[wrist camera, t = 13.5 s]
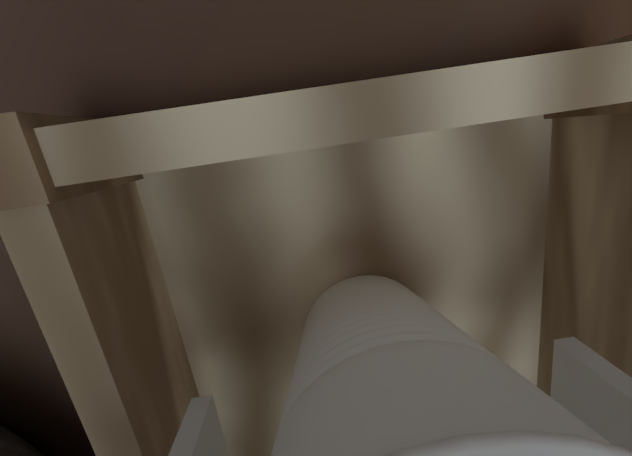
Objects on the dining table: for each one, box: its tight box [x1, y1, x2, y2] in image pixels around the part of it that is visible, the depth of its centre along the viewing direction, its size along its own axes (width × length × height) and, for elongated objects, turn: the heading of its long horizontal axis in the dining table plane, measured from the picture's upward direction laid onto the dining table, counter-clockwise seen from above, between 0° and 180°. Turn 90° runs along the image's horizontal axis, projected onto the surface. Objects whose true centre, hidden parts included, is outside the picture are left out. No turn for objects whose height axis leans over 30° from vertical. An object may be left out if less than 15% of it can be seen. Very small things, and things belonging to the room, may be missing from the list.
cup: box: [271, 275, 632, 456], centre depth 12 cm, size 10×10×11 cm
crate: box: [0, 34, 632, 456], centre depth 14 cm, size 23×23×6 cm
